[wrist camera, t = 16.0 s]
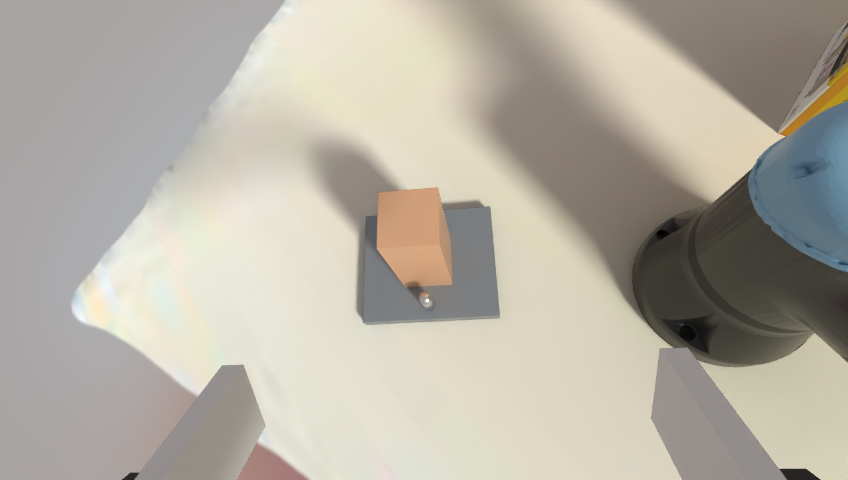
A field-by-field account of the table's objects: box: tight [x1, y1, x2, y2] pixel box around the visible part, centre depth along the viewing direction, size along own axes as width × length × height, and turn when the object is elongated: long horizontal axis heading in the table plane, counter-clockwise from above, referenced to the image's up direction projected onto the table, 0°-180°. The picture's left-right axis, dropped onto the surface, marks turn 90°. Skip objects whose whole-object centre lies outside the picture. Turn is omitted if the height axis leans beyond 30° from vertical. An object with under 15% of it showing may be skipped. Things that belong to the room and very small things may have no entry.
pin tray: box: [363, 206, 500, 325], centre depth 44 cm, size 14×12×5 cm
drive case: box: [377, 187, 453, 287], centre depth 40 cm, size 5×5×12 cm
